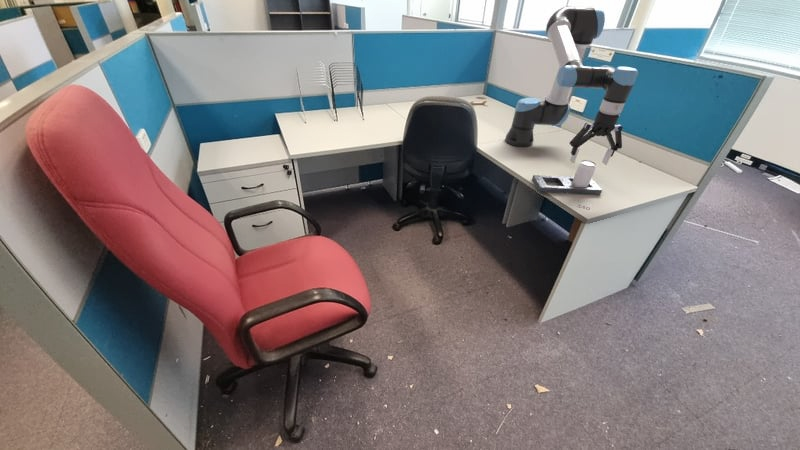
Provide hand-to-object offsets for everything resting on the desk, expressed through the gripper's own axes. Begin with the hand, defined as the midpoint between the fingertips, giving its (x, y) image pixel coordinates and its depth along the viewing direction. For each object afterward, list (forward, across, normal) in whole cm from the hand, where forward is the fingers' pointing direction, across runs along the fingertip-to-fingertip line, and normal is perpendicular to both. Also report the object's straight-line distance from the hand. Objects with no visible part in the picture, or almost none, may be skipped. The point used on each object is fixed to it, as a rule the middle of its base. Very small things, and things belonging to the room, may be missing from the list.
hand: (588, 162), depth 138 cm
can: (+12, 0, -1) cm, 12 cm away
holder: (+12, -6, -1) cm, 13 cm away
